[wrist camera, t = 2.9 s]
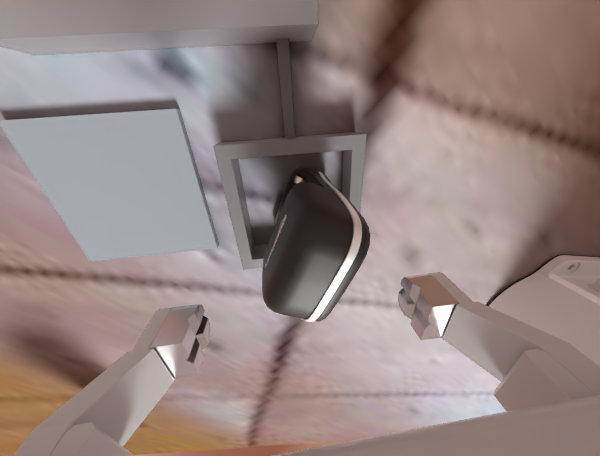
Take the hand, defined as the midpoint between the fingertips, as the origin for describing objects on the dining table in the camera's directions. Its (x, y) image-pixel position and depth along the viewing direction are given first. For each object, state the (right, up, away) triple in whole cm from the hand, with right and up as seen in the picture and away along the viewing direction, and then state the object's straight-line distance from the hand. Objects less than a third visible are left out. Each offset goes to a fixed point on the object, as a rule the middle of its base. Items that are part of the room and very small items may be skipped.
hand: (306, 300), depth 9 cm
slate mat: (-15, +6, +10) cm, 19 cm away
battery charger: (-1, +6, +11) cm, 13 cm away
